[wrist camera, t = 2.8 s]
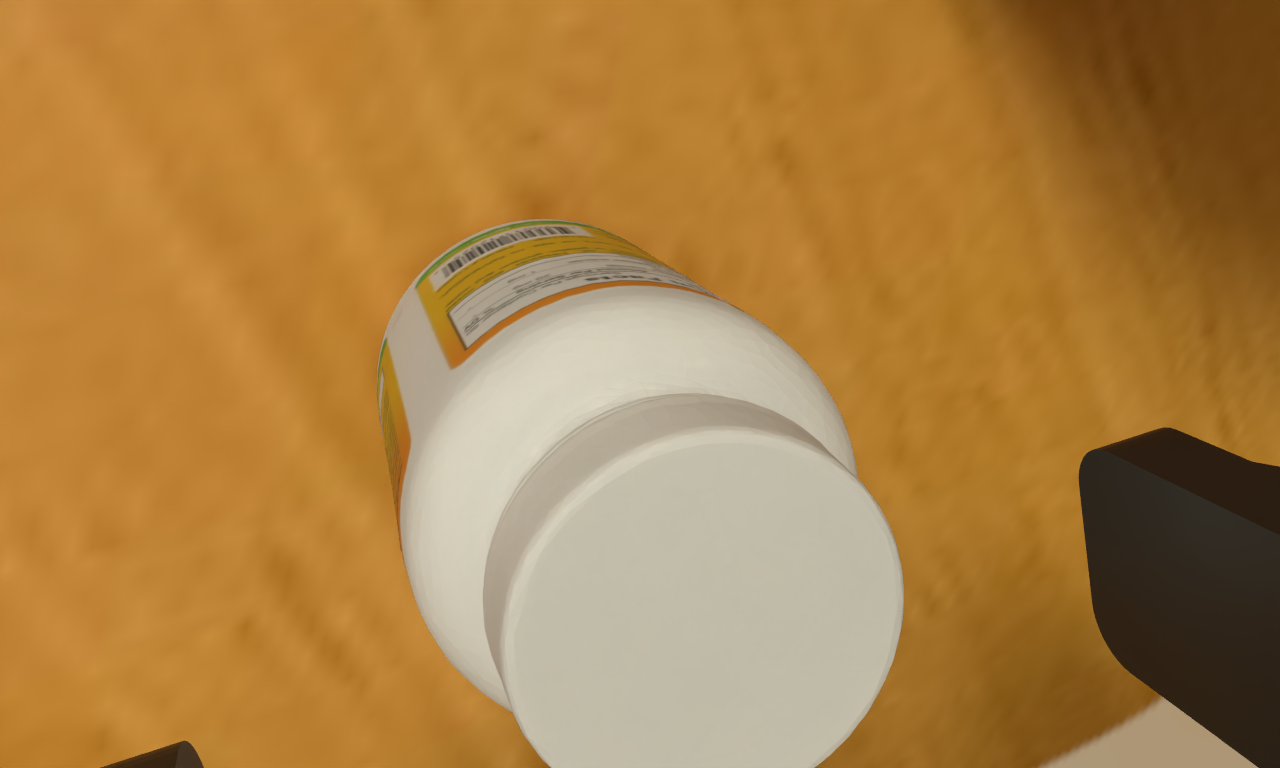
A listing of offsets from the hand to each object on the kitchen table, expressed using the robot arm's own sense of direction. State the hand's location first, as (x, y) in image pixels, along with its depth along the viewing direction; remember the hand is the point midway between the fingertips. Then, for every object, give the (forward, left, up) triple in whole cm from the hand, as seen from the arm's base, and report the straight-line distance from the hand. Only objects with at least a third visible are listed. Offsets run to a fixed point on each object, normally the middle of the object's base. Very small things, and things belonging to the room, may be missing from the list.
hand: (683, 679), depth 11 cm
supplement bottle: (-1, 0, -11) cm, 11 cm away
